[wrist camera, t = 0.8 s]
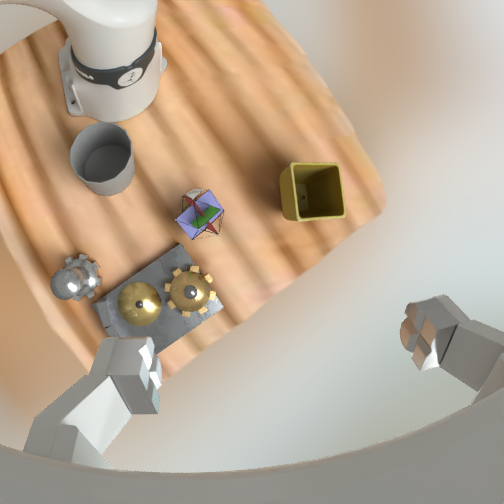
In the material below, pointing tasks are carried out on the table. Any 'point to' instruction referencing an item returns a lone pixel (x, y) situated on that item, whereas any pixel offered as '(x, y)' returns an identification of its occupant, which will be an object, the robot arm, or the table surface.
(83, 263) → the gear
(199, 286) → the sun gear
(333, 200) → the flower pot
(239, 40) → the table surface
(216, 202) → the geometric puzzle
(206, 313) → the carrier
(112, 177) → the cup
